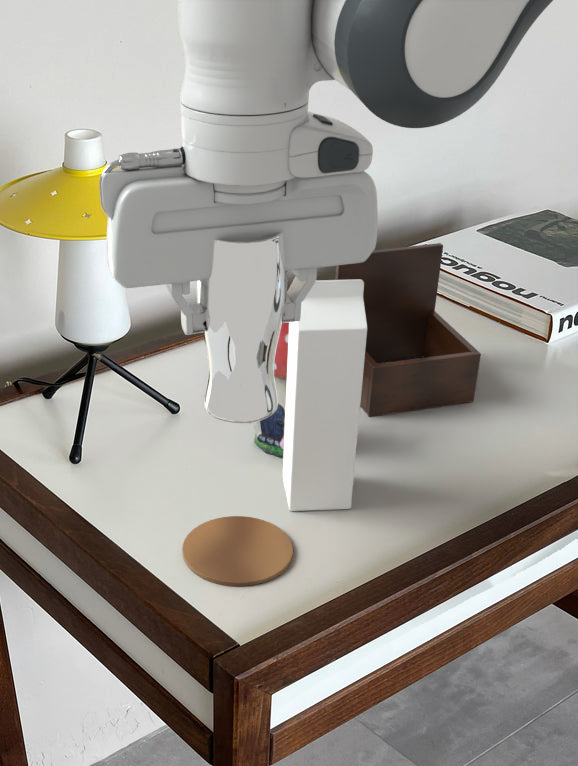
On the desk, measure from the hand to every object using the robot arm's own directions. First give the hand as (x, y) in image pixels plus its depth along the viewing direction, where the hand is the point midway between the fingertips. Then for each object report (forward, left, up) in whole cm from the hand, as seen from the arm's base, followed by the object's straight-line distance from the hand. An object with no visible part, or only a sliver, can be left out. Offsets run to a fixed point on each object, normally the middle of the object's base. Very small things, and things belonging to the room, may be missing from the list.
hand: (241, 325), depth 79 cm
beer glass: (0, 0, -7) cm, 7 cm away
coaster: (0, 0, -22) cm, 22 cm away
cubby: (-27, -26, -22) cm, 44 cm away
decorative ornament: (-10, -17, -22) cm, 30 cm away
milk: (-10, -7, -22) cm, 25 cm away
